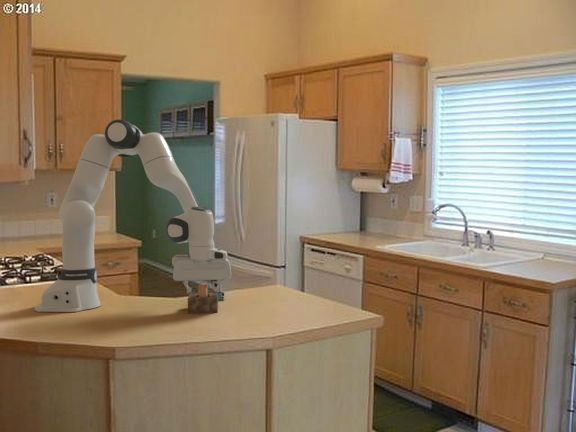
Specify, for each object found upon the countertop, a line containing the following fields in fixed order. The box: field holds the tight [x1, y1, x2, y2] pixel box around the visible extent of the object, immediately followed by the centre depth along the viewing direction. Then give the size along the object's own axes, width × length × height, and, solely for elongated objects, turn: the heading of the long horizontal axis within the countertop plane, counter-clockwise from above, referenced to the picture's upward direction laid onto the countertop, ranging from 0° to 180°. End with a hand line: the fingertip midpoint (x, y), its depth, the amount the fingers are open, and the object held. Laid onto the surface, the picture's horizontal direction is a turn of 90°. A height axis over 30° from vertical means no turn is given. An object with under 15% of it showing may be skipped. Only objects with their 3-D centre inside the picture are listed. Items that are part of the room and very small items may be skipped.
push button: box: [210, 280, 227, 301], centre depth 236 cm, size 7×5×10 cm
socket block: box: [187, 292, 219, 314], centre depth 219 cm, size 10×10×5 cm
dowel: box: [197, 283, 208, 297], centre depth 219 cm, size 3×3×9 cm
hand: (202, 292), depth 219 cm, fingers open, 8 cm apart
